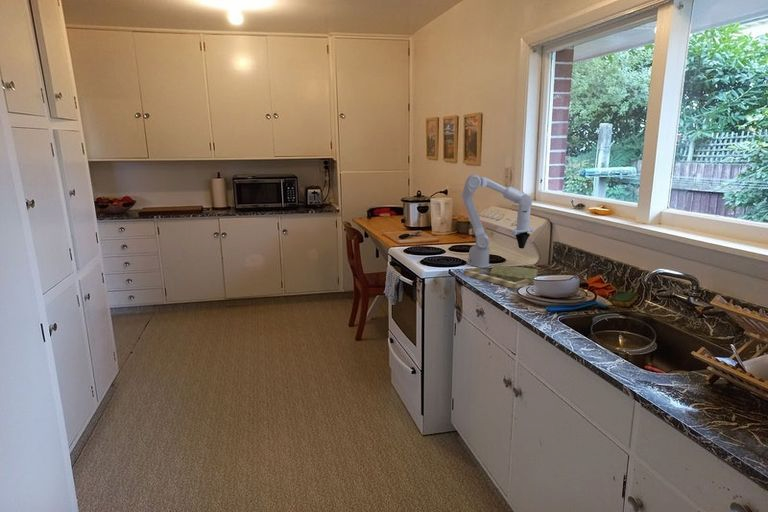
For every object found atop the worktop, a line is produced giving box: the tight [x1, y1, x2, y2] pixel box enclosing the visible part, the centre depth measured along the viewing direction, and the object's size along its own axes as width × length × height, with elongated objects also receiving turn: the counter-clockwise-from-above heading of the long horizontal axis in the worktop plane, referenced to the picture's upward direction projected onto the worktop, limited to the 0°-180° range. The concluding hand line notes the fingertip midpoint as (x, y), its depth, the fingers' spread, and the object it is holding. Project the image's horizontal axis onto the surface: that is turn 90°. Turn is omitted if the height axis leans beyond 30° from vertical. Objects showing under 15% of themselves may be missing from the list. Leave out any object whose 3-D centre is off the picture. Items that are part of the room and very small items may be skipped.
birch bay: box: [463, 266, 530, 290], centre depth 207 cm, size 27×10×2 cm, turn 40°
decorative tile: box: [488, 264, 538, 285], centre depth 211 cm, size 19×20×4 cm
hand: (521, 248), depth 226 cm, fingers closed
